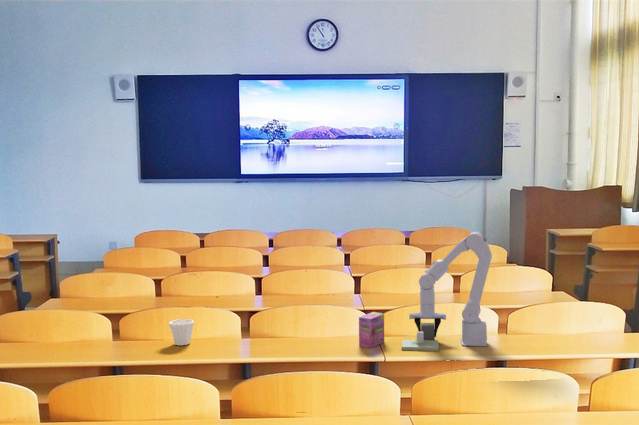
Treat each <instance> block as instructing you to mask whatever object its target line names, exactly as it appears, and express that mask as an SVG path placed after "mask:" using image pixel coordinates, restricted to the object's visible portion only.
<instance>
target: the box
mask: <svg viewBox="0 0 639 425" xmlns="http://www.w3.org/2000/svg"><path fill="white" fill-rule="evenodd" d="M383 343H385V314H384V313H382V312H378V311H377V312H376V311H372V312H369V313H367V314H364V315H362V316H359V317H358V346H359V347H362V348H367V349H372V348H375V347H377V346H379V345H381V344H383Z"/></svg>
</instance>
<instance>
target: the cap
mask: <svg viewBox="0 0 639 425" xmlns="http://www.w3.org/2000/svg"><path fill="white" fill-rule="evenodd" d="M434 328H435V325H434V322H421V331H422V332H424V340H435V337H434Z"/></svg>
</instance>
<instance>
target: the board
mask: <svg viewBox="0 0 639 425" xmlns="http://www.w3.org/2000/svg"><path fill="white" fill-rule="evenodd" d="M401 350H402V351H429V352H430V351H431V352H438V351H440V346H439V340H436V339H434V340H424V345H417V339H402V341H401Z"/></svg>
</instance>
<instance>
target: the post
mask: <svg viewBox="0 0 639 425" xmlns="http://www.w3.org/2000/svg"><path fill="white" fill-rule="evenodd" d="M416 340H417V345H424V332H422V331H416Z"/></svg>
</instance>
